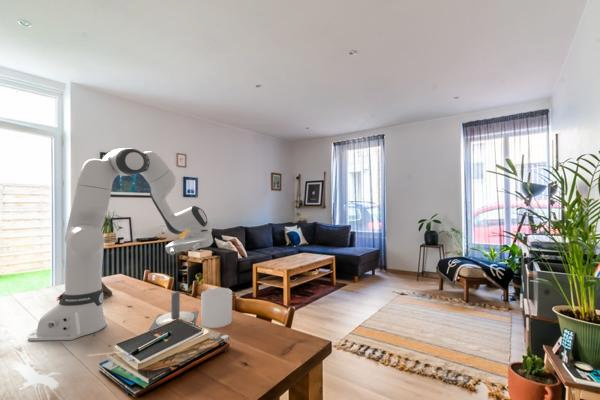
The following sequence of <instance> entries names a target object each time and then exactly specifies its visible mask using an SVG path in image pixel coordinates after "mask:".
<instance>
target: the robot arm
mask: <svg viewBox="0 0 600 400" xmlns="http://www.w3.org/2000/svg"><path fill="white" fill-rule="evenodd" d="M138 174H140V175H141V176H142V177H143V178H144V179H145V181H146V182H147V183H148V184H149V186H150V192H149V195H150V196H149V197H150V198H151V200H152V203H153V204H154V206H155V208H156V209H157V211H158V212H159V214H160V216H161V218H162V219H163V221H164V224H165V225H166V229H167V230H168V231H169V233H172V234H174V235H178V236H179V235H181V234H183V233H184V232H186V231H187V232H186V233H185V234H184V237H183V238H180V239H175V240H172V241H171V242H169V243H168V244H166V245H165V247H164V248H165V252H166V253H167V254H170V256H173V255H176V253H179V252H184V251H185V252H186V251H191V252H195V251H197V250H199V249H203V248H208V247H210V246H211V245H212V244H213V243H214V237H213V235H212V232H213V225H212V223H211V222H210V221H209V220H208V217H207V215H206V213H205V211H204V210H203V209H202V208H201V207H199V206H196V205H193V206H190V207H187V208H186V209H184V210H181V211H178V212H173V210H172V209H171V207H170V205H169V203H168V201H167V200H166V197H167V196H168V195H169V194H170V193H171V192H172V191H173V189H174V188H175V186H176V182H177V178H176V175H175V173H174V172H173V171H172V169H171V168H170V166H169V165H168V164H167V163H166V162H165V161H164V160H163V158H162V157H161V156H159V154H157V153H156V152H154V151H151V150H150V151H144V152H142V151H140V150H138V149H136V148H133V147H125V148H124V147H123V148H115V149H112V150H109V151H108V152H106V153H105V154H104V155H103V156H101V157H100V159H99V158H92V159H88V160H86V161H85V162H84V163H83V165H82V168H81V170H80V173H79V176H78V179H77V182H76V186H75V191H74V196H73V197H74V198H73V201H72V205H71V210H70V214H69V218H68V222H67V226H66V231H65V235H64V241H65V266H64V267H65V269H64V270H65V271H64V277H65V278H64V291H63V292H62V293H61V294H60V295H59V296H57V297H56V301H57V302H58V304H57V305H55V306H54V307H53V308H52V309H50V310H48V311H47V312H46V313H45V314H44V315H42V316H41V317H40V318H39V320H38V323H37V328H36V329H34V330H33V331H32V332H31V333H29V335H28V336H27V340H28V341H31V342H32V341H72V340H76V339H78V338H81V337H83V336H86V335H87V336H88V335H90V334H94V333H95V332H98V331H100V330H102V329H104V328H106V326H107V321H106V318H105V315H104V308H103V302H104V298H103V288H102V282H103V280H102V279H103V276H102V275H103V274H102V272H103V271H102V270H103V268H102V267H103V259H104V249H105V247H104V245H105V235H104V233H103V232H102V229H103V227H104V222H105V219H106V215H107V213H108V209H109V205H110V200H111V194H112V190H113V183H114V182H115V179H116V178H117V177H118V176H122V177H127V176H135V175H138Z"/></svg>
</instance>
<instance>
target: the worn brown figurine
mask: <svg viewBox="0 0 600 400" xmlns="http://www.w3.org/2000/svg"><path fill="white" fill-rule="evenodd" d="M102 288H103V299H104V298H107V297H110V296H113V291H112V290H111V289H109V288H108V286H107V285H106V284H105V283H104V282H103V281H102Z"/></svg>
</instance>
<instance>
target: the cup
mask: <svg viewBox="0 0 600 400" xmlns="http://www.w3.org/2000/svg"><path fill="white" fill-rule="evenodd" d="M232 321H233V290H231V289H230V288H227V287H216V288H215V287H214V288H213V287H212V288H209V289H206V290H203V291H202V292H201V294H200V324H201V326H202V327H204V328H206V329H207V328H209V329H216V328H222V327H226V326H228V325H230V324H231V323H232Z"/></svg>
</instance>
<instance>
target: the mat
mask: <svg viewBox="0 0 600 400" xmlns="http://www.w3.org/2000/svg"><path fill="white" fill-rule="evenodd" d="M190 312H191V313H193V314H194V320H193V321H192V323H195V324H196V322H197V318H198V314H199V310H198V311H190ZM164 314H165V313H163V314H162V313H161V314H159V313H158V314H157V316H156V318H155V319H154V321H153V323H152V324H151V325H150V327H149V328H148V330H147V331H148V332H150V330H152V329H155V328H157V327H159V326H157V325H156V319H157V318H158V317H160V316H162V315H164ZM152 331H153V330H152Z"/></svg>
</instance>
